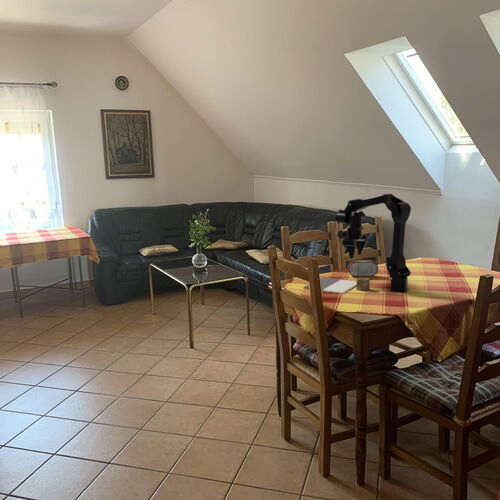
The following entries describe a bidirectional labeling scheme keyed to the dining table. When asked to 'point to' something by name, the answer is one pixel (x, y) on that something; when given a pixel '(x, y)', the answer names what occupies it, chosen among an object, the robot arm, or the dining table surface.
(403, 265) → the robot arm
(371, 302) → the dining table surface
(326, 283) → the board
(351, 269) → the tin
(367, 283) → the brown cylinder
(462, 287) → the dining table surface
